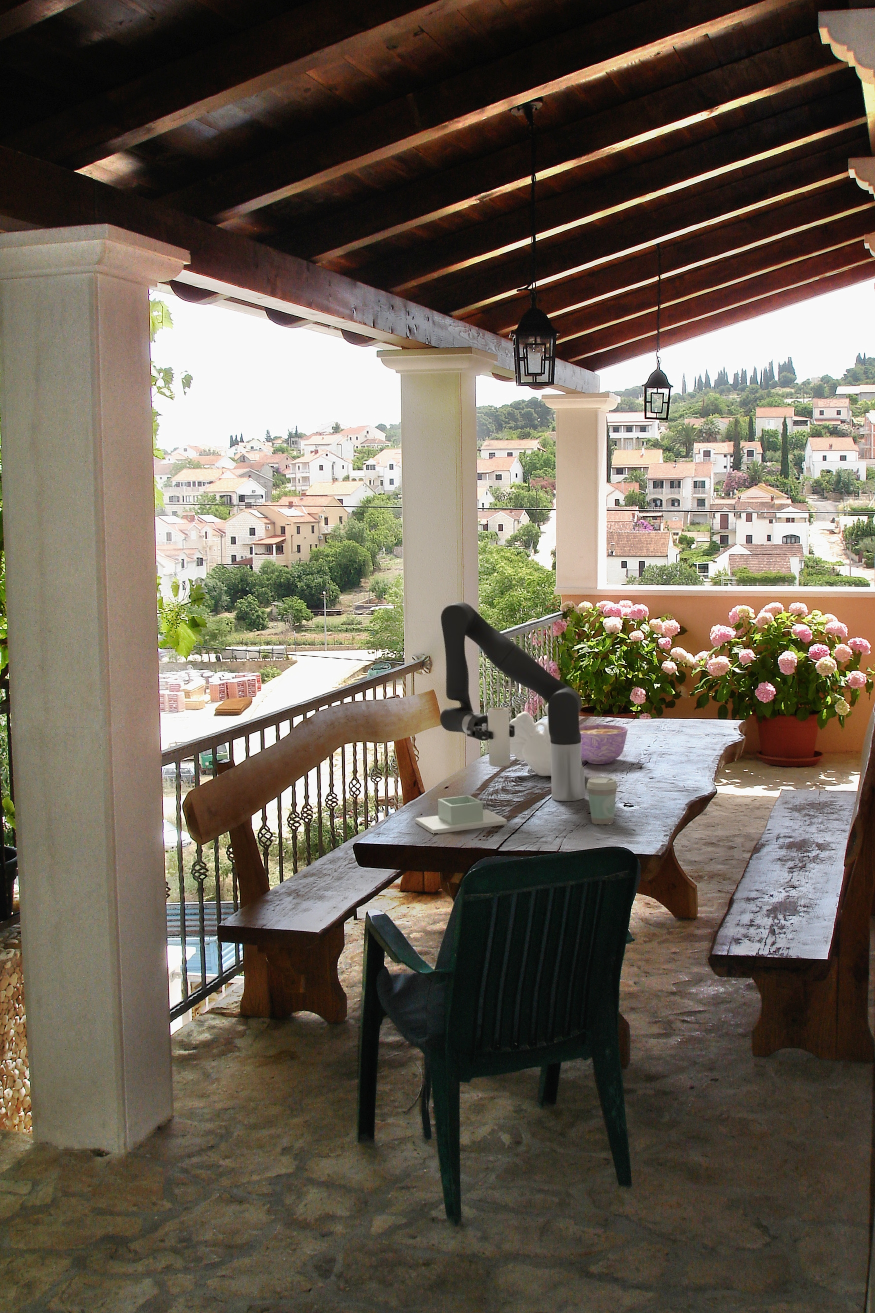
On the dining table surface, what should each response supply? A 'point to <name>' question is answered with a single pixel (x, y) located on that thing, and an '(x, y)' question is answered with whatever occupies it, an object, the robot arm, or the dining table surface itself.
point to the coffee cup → (602, 799)
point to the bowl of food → (602, 742)
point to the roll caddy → (460, 816)
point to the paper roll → (499, 737)
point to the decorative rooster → (532, 743)
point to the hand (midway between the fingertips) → (502, 734)
